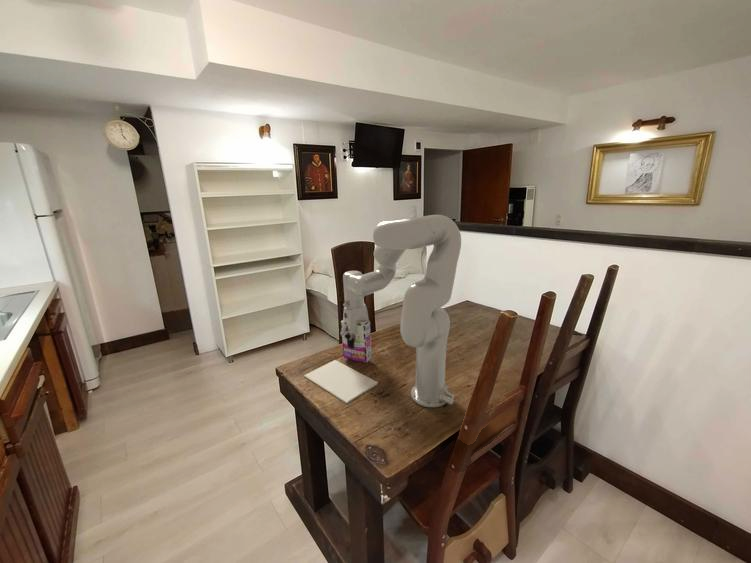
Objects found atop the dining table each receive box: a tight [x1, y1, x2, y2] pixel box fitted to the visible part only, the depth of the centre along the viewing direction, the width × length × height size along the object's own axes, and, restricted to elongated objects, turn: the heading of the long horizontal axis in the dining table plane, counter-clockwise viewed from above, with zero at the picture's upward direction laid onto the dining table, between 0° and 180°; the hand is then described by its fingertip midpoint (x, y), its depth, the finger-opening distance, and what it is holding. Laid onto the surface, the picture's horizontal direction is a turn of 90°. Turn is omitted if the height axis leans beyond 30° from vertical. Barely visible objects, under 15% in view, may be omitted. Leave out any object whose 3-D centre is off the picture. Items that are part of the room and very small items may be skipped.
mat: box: [303, 359, 379, 404], centre depth 120 cm, size 24×15×1 cm, turn 47°
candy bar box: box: [340, 319, 373, 364], centre depth 131 cm, size 11×5×16 cm, turn 62°
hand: (356, 344), depth 131 cm, fingers closed on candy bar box, 5 cm apart
